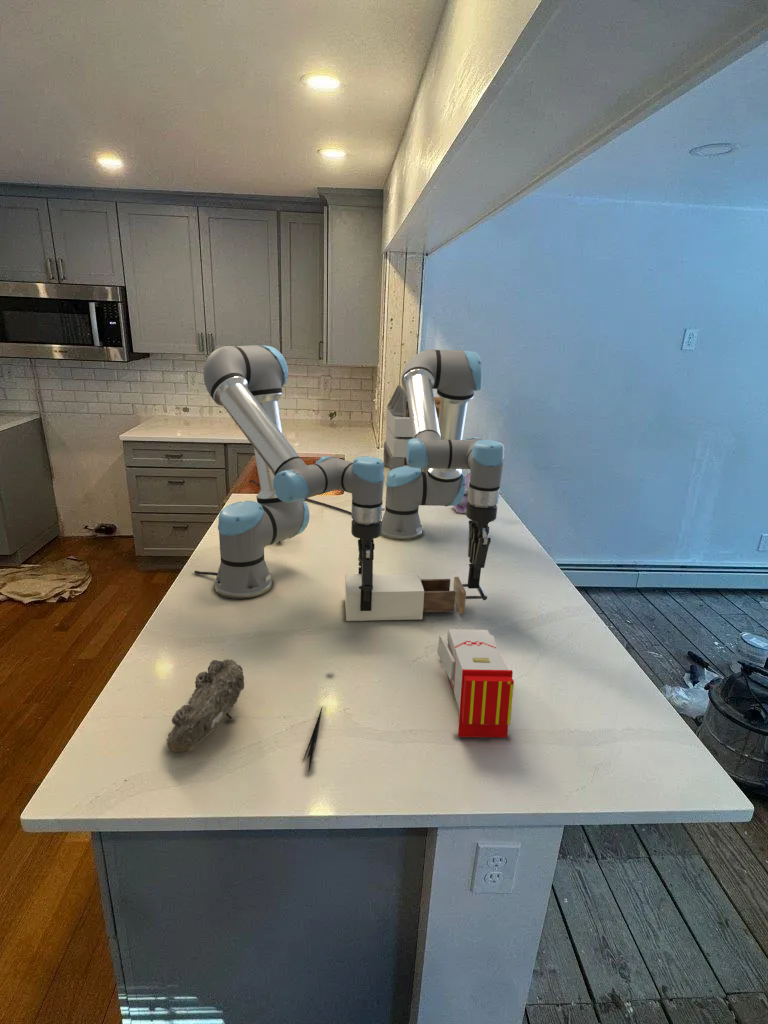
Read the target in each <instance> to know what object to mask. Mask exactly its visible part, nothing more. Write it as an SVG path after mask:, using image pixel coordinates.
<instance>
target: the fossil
mask: <svg viewBox="0 0 768 1024" xmlns="http://www.w3.org/2000/svg"><path fill="white" fill-rule="evenodd" d="M243 670H244V669H243V667H242V665H240V664H237V662H236V661H235V660H234V659H232V658H231V659H227V658H226V659H224V660H223V661H222V660H217V659H212V660H211V661H210V663H209V665H208V666H207V671H201V672H199V673H198V674H197V675H196V676H195V680H194V684H195V685H194V687H195V689H194V690H193V693H192V694H191V697H190V698H189V700H188V704H184V705H182V706H181V707H180V709H177V710H176V711H175V713H174V715H173V716H172V718H171V723H172V724H173V727H172V730H171V731H170V732H168V734H167V738H166V741H167V742H166V745H167V749H168V750H169V751H173V752H174V753H176V754H178V753H182V752H188V751H189V752H192V751H193V750H195V748H196V747H197V746H199V744H200V743H201V742H203V741H204V740H205V739H206V738H207V737H208V736H209V735H210V734H211V733H212V732H214V730H215V729H217V727H218V726H219V724H220V722H221V721H222V720H223V719H224V718H225V716H226V717H227V719H229V720H233V717H232V715H230V714H229V710H230V709H231V708H234V706H235V704H236V703H237V702H238V699H239V697H240V695H241V693H242V691H243V690H245V689H244V688H245V675H244V671H243Z"/></svg>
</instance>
